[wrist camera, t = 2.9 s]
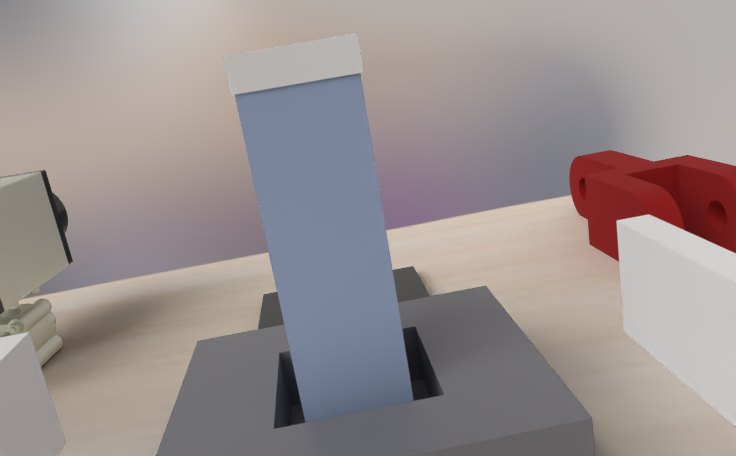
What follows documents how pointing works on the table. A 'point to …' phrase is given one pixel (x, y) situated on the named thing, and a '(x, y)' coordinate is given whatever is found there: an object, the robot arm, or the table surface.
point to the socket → (396, 422)
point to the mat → (405, 287)
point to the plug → (323, 222)
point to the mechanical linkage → (654, 196)
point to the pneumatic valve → (30, 257)
